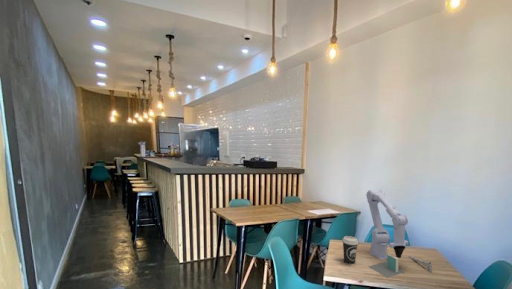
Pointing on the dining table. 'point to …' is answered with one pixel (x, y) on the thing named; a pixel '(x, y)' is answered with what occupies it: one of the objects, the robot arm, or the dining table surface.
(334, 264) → the dining table surface
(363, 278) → the dining table surface
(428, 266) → the caliper
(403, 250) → the robot arm
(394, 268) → the tile
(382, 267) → the mat
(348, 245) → the coffee cup
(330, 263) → the dining table surface
